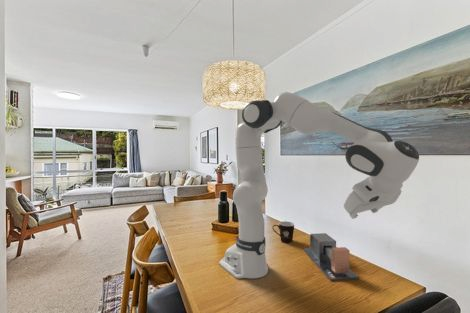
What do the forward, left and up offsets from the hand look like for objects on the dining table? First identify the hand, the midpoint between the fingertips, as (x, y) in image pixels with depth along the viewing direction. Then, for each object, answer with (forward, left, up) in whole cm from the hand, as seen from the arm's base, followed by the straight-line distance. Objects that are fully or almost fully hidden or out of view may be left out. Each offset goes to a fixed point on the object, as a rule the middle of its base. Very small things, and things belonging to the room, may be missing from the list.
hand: (363, 214), depth 82 cm
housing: (-19, +13, -29) cm, 37 cm away
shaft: (-15, +11, -27) cm, 32 cm away
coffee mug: (-47, +21, -29) cm, 59 cm away
